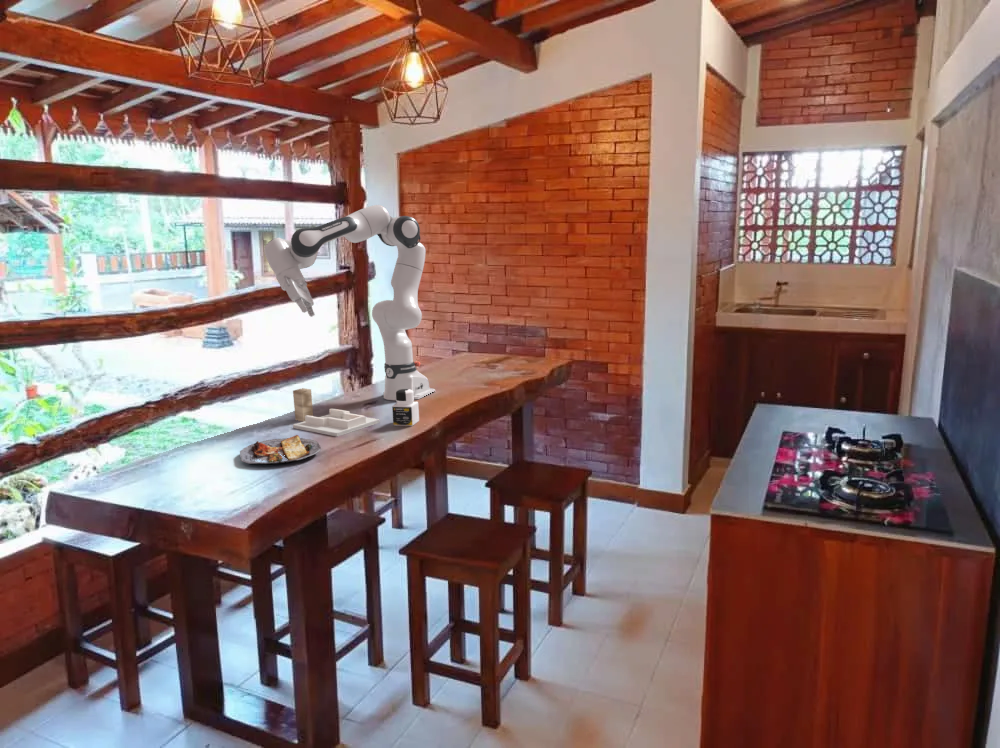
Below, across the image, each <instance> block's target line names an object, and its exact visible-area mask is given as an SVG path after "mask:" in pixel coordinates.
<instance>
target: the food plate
mask: <svg viewBox="0 0 1000 748" xmlns="http://www.w3.org/2000/svg"><path fill="white" fill-rule="evenodd" d="M320 451H321V445H320V444H319V442H318V441H317V440H315V439H311V438H303V437H300V436H299V435H298V434H295V435H293V436H290V437H288V438H287V437H285V438H274V439H268V440H263V441H260V442H259V441H255V443H251V444H249V445H248V446H246V447H244V448H242V449H241V450H239V453H240V454H239V455H240V461H241V462H243V463H245V464H249V465H250V464H253V465H254V464H257V465H259V464H261V465H278V464H285V462H286V463H291V462H297V461H301V460H304V459H306V458H308V457H311V456H314V455H316V454H317V453H318V452H320ZM280 454H281V455H282V456H284V455H285V456H284V457H285V458H287V459H288V460H284V459H285V458H282V456H281V455H280ZM258 460H260V461H258ZM283 460H284V461H283ZM266 461H267V462H266Z"/></svg>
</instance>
